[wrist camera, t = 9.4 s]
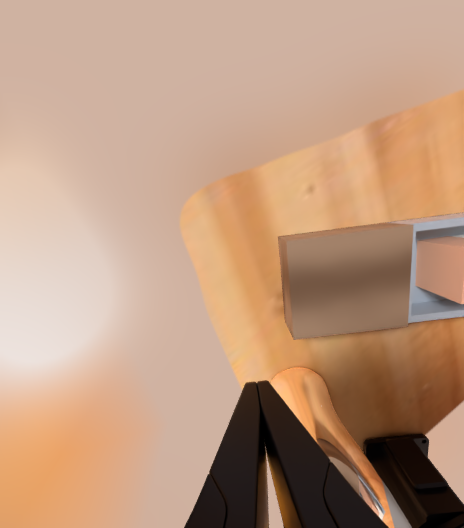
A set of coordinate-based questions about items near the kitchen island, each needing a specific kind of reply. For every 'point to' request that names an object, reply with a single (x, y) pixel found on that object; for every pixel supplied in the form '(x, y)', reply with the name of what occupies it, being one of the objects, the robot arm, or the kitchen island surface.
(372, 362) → the kitchen island surface
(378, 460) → the robot arm
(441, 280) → the terracotta tile
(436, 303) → the slate tray
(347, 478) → the beer glass
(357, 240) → the dark walnut board
